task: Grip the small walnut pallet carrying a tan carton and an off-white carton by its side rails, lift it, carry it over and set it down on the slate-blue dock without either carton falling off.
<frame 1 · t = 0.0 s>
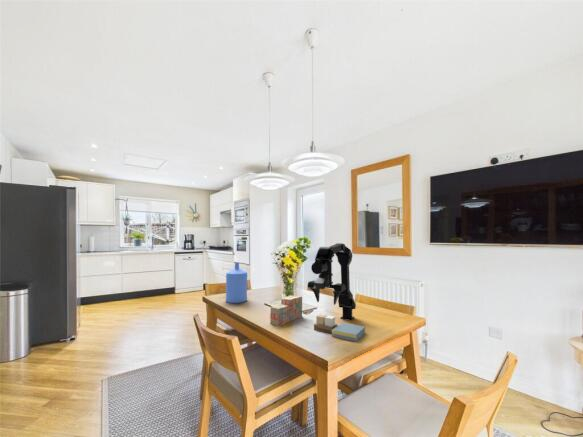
hand: (326, 303, 133), 15 cm above the table, tool pointing down, fingers open, 9 cm apart
stack of blocks: (286, 320, 153), on the table
dock: (348, 334, 130), on the table
water jug: (236, 301, 198), on the table
pallet: (325, 330, 137), on the table, touching off-white carton
off-white carton: (329, 325, 136), point 3 cm above the table, touching pallet
tan carton: (321, 323, 138), point 3 cm above the table
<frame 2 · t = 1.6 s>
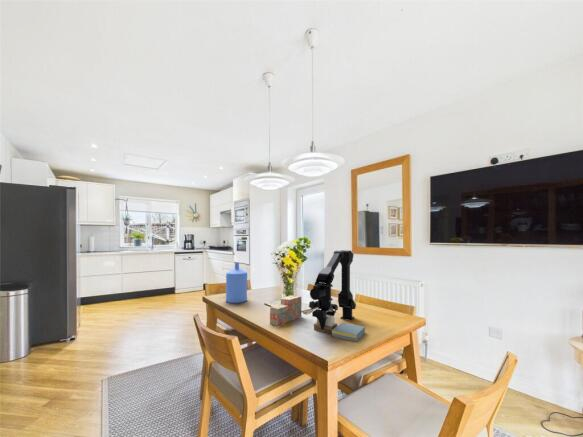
hand: (325, 327, 137), 1 cm above the table, tool pointing down, fingers closed on pallet, 7 cm apart
pallet: (325, 329, 137), on the table, touching gripper, off-white carton, tan carton
off-white carton: (329, 324, 136), point 3 cm above the table, touching pallet, tan carton
tan carton: (322, 323, 138), point 3 cm above the table, touching off-white carton, pallet
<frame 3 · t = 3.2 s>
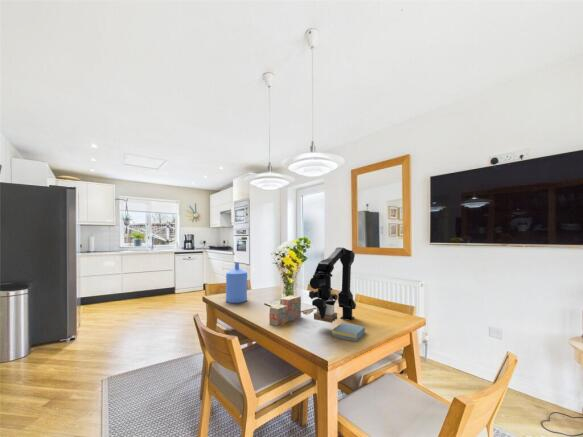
hand: (325, 316, 137), 7 cm above the table, tool pointing down, fingers closed on pallet, 7 cm apart
pallet: (325, 319, 137), point 5 cm above the table, touching gripper, off-white carton, tan carton
off-white carton: (329, 313, 136), point 8 cm above the table, touching pallet
tan carton: (322, 312, 139), point 8 cm above the table, touching pallet
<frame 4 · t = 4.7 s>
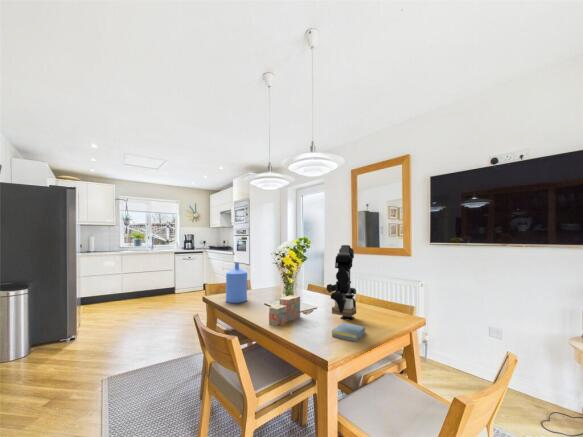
hand: (344, 310, 132), 11 cm above the table, tool pointing down, fingers closed on pallet, 7 cm apart
pallet: (344, 313, 132), point 10 cm above the table, touching gripper, off-white carton, tan carton
off-white carton: (347, 308, 131), point 13 cm above the table, touching pallet
tan carton: (340, 306, 133), point 13 cm above the table, touching pallet
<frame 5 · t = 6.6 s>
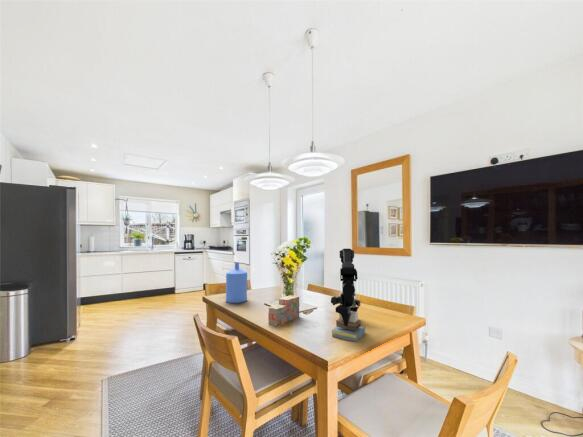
hand: (348, 323, 131), 5 cm above the table, tool pointing down, fingers closed on pallet, 7 cm apart
pallet: (348, 326, 131), point 4 cm above the table, touching gripper, off-white carton, tan carton
off-white carton: (352, 320, 130), point 7 cm above the table, touching pallet
tan carton: (344, 319, 132), point 7 cm above the table, touching pallet
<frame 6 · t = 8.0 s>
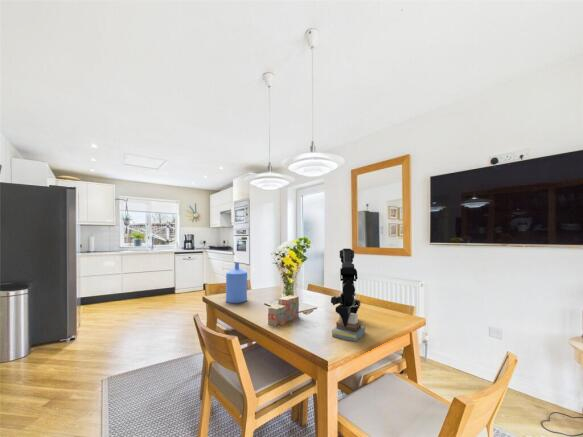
hand: (348, 323, 131), 5 cm above the table, tool pointing down, fingers open, 9 cm apart
pallet: (348, 328, 131), point 3 cm above the table, touching dock, off-white carton, tan carton
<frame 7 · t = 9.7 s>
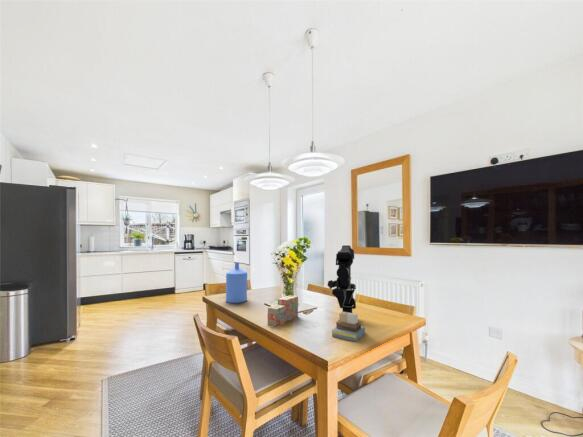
hand: (344, 305, 138), 12 cm above the table, tool pointing down, fingers open, 9 cm apart
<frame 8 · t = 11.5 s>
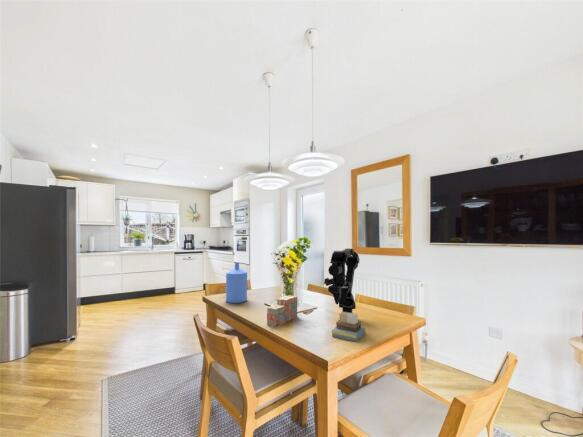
hand: (340, 302, 145), 12 cm above the table, tool pointing down, fingers open, 9 cm apart
at the end: pallet inside the target area on the dock (0.1 cm from its centre), point 3.0 cm above the dock's base; tan carton point 6.0 cm above the table; off-white carton point 6.0 cm above the table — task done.
